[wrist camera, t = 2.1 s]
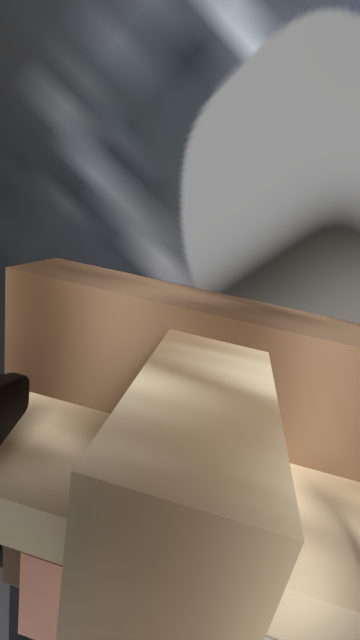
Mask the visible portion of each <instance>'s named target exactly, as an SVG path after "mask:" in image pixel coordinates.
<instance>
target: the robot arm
mask: <svg viewBox="0 0 360 640" xmlns="http://www.w3.org/2000/svg"><path fill="white" fill-rule="evenodd" d="M29 386H30V380H29V378H28V377H27V376H26V375H22V374H19V373H14V372H12V373H7V374H2V375H0V446H1V444H2V443H3V442H4V440H5V439H6V438H7V436H8V435H9V434H10V432H11V431H12V430H13V428H14V427H15V425H16V424H17V423H18V421H19V420H20V419H21V417H22V416H23V415H24V413H25V412H26V410H27V408H28V404H29Z"/></svg>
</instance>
